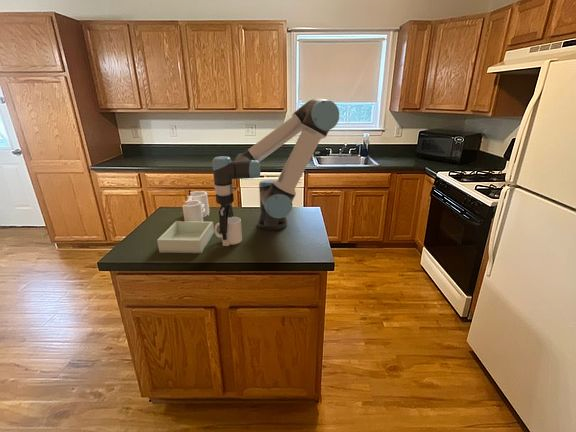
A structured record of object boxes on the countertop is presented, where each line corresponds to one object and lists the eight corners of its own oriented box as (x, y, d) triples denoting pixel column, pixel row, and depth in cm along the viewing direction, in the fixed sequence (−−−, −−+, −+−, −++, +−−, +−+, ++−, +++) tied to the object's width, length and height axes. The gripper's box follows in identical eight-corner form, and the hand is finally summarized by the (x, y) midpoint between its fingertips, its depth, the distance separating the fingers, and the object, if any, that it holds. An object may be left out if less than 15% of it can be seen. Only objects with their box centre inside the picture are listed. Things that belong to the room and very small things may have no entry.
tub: (214, 233, 148) (213, 221, 146) (201, 253, 129) (199, 240, 127) (177, 232, 149) (175, 221, 147) (159, 252, 130) (157, 239, 128)
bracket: (203, 228, 153) (200, 205, 149) (183, 229, 153) (180, 206, 148) (210, 210, 177) (208, 190, 172) (193, 211, 176) (190, 191, 171)
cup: (241, 244, 136) (239, 223, 133) (213, 245, 136) (211, 224, 132) (243, 236, 144) (241, 216, 140) (217, 237, 144) (215, 217, 140)
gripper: (222, 185, 142) (226, 230, 150) (208, 201, 122) (213, 251, 130) (238, 186, 142) (241, 230, 150) (227, 201, 121) (231, 252, 130)
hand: (228, 240), depth 140 cm, fingers open, 9 cm apart
